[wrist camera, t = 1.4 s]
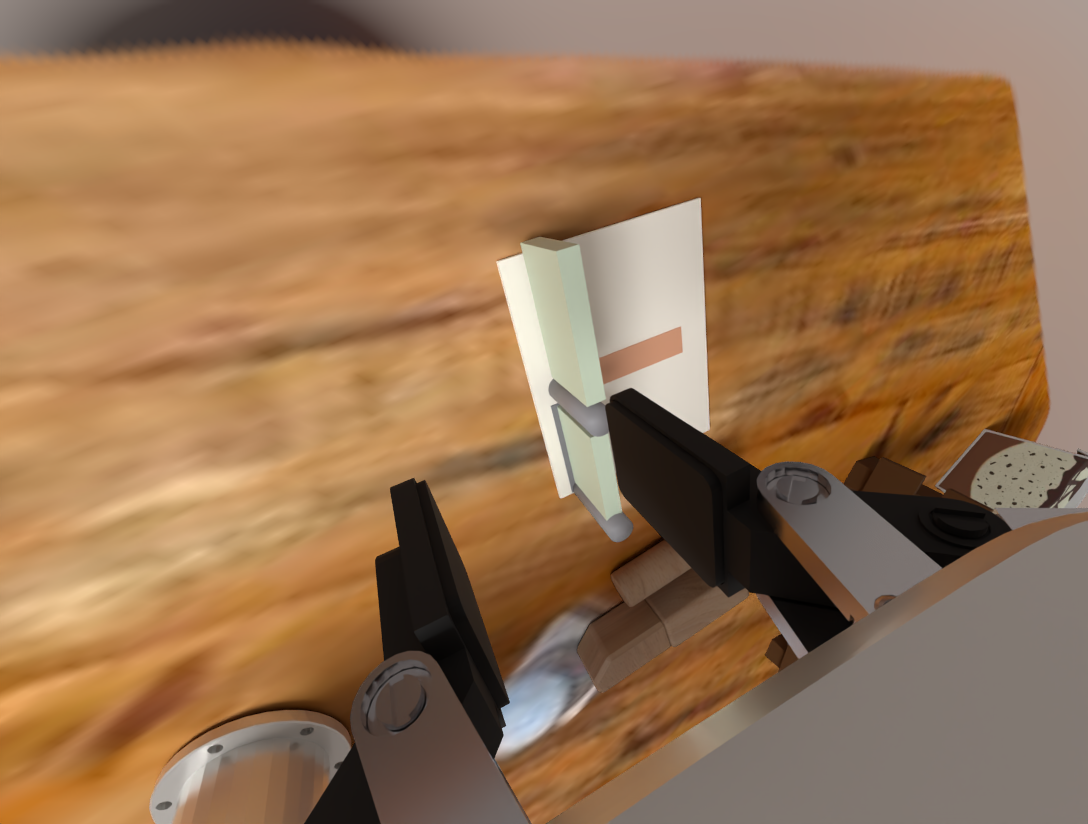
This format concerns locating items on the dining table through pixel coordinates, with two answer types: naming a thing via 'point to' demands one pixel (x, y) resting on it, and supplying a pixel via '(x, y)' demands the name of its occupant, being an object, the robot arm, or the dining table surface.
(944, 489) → the food container
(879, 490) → the decorative fence
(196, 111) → the dining table surface
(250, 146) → the dining table surface
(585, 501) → the fixed fence panel
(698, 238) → the card
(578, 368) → the hinged fence panel
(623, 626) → the wooden block set
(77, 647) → the dining table surface
